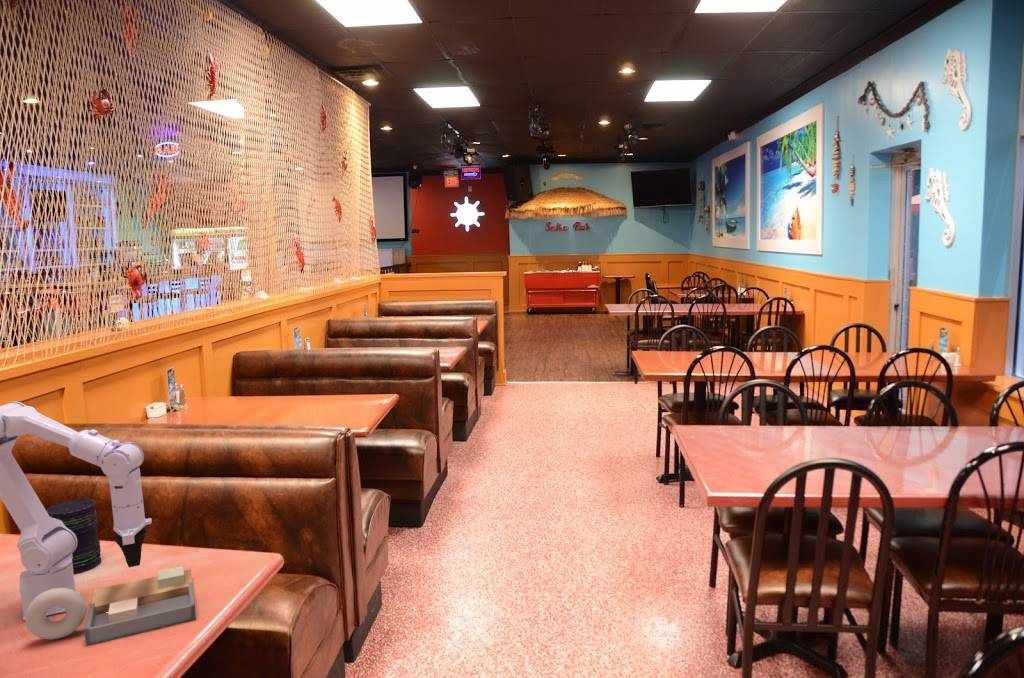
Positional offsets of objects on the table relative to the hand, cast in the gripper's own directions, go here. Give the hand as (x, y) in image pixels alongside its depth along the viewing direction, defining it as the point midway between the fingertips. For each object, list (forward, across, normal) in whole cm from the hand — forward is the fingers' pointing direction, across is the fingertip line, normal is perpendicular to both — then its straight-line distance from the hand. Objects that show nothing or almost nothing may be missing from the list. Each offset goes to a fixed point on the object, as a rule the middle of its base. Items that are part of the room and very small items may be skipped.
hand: (134, 565), depth 149 cm
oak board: (+8, +3, -1) cm, 9 cm away
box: (+8, -8, -1) cm, 12 cm away
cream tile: (+8, -5, +2) cm, 10 cm away
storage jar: (+9, +28, +14) cm, 32 cm away
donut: (+9, -8, +13) cm, 18 cm away
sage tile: (+6, +3, -6) cm, 10 cm away
